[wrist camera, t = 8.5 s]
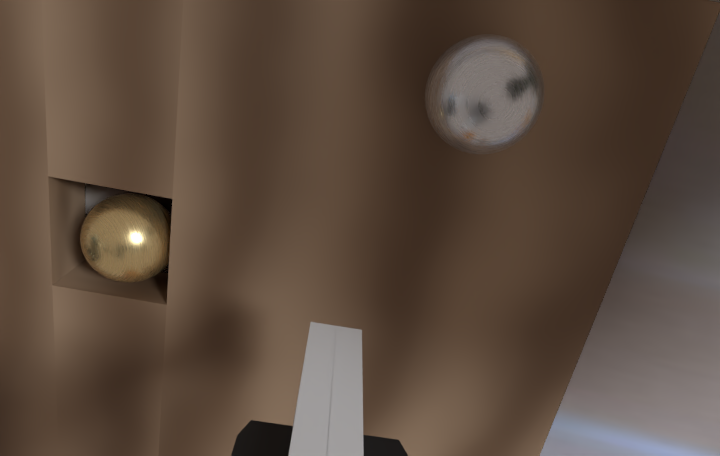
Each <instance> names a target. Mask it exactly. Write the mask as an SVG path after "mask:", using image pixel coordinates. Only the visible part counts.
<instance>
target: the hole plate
mask: <svg viewBox="0 0 720 456" xmlns="http://www.w3.org/2000/svg"><path fill="white" fill-rule="evenodd" d="M719 12H720V3H719V2H714V1H709V0H0V456H231V454H232V451H233V447H234V444H235V441H236V437H237V435H238V434H239V433H240V432H241V430H242V429H243V428H244V427H245V426H246V425H247V424H248V423H249V422H250V421H251V420H255V421H262V422H269V423H276V424H283V425H290V426H293V422H294V416H295V410H296V404H297V398H298V392H299V386H300V380H301V375H302V369H303V363H304V357H305V351H306V346H307V340H308V334H309V328H310V323H311V322H315V323H322V324H328V325H334V326H341V327H347V328H354V329H360V330H362V376H363V435H369V436H376V437H383V438H390V439H397V440H399V441H400V442H401V444H402V446H403V448H404V449H405V451H406V453H407V455H408V456H539V455H540V453H541V450H542V448H543V445H544V443H545V440H546V438H547V436H548V433H549V431H550V428H551V426H552V423H553V421H554V418H555V416H556V413H557V411H558V408H559V406H560V404H561V401H562V399H563V396H564V394H565V391H566V389H567V386H568V384H569V381H570V379H571V376H572V374H573V371H574V369H575V367H576V364H577V362H578V359H579V357H580V354H581V352H582V349H583V347H584V344H585V342H586V339H587V337H588V335H589V332H590V330H591V327H592V325H593V322H594V320H595V317H596V315H597V312H598V310H599V307H600V305H601V302H602V300H603V298H604V295H605V293H606V290H607V288H608V285H609V283H610V280H611V278H612V275H613V273H614V270H615V268H616V266H617V263H618V261H619V258H620V256H621V253H622V251H623V248H624V246H625V243H626V241H627V238H628V236H629V233H630V231H631V229H632V226H633V224H634V221H635V219H636V216H637V214H638V211H639V209H640V206H641V204H642V201H643V199H644V197H645V194H646V192H647V189H648V187H649V184H650V182H651V179H652V177H653V174H654V172H655V169H656V167H657V164H658V162H659V160H660V157H661V155H662V152H663V150H664V147H665V145H666V142H667V140H668V137H669V135H670V132H671V130H672V128H673V125H674V123H675V120H676V118H677V115H678V113H679V110H680V108H681V105H682V103H683V100H684V98H685V95H686V93H687V91H688V88H689V86H690V83H691V81H692V78H693V76H694V73H695V71H696V68H697V66H698V63H699V61H700V59H701V56H702V54H703V51H704V49H705V46H706V44H707V41H708V39H709V36H710V34H711V31H712V29H713V26H714V24H715V22H716V19H717V17H718V14H719ZM482 34H494V35H500V36H504V37H507V38H510V39H512V40H515V41H516V42H518V43H520V44H521V45H523V46H524V47H525V48H526V49H527V50H528V51H529V52H530V53H531V54H532V55H533V57H534V58H535V60H536V61H537V63H538V65H539V67H540V69H541V72H542V75H543V80H544V92H545V93H544V102H543V106H542V110H541V112H540V115H539V117H538V119H537V121H536V123H535V124H534V126H533V127H532V129H531V130H530V131H529V132H528V134H527V135H526V136H525V137H523V138H522V139H521V140H520V141H519V142H517V143H516V144H515V145H513V146H511V147H509V148H507V149H505V150H503V151H500V152H496V153H492V154H471V153H466V152H463V151H460V150H458V149H455V148H454V147H452V146H450V145H449V144H448V143H446V142H445V141H444V140H443V139H442V138H441V137H440V136H439V135H438V134H437V133H436V131H435V130H434V129H433V127H432V125H431V123H430V121H429V118H428V115H427V111H426V107H425V89H426V84H427V80H428V77H429V75H430V72H431V70H432V68H433V66H434V65H435V63H436V62H437V60H438V59H439V58H440V56H441V55H442V54H443V53H444V52H445V51H446V50H448V49H449V48H450V47H451V46H453V45H454V44H456V43H458V42H459V41H462V40H464V39H466V38H469V37H472V36H476V35H482ZM85 183H87V184H93V185H99V186H104V187H110V188H115V189H121V190H126V191H132V192H137V193H143V194H148V195H154V196H160V197H165V198H171V199H172V216H171V234H170V253H169V271H168V273H163V272H160V273H158V274H156V275H155V276H153V277H151V278H149V279H146V280H143V281H139V282H119V281H114V280H111V279H108V278H106V277H104V276H102V275H101V274H99V273H98V272H97V271H95V270H94V269H93V268H92V267H91V266H90V264H89V263H88V262H87V260H86V259H85V257H84V254H83V252H82V249H81V244H80V233H81V228H82V225H83V222H84V220H85Z"/></svg>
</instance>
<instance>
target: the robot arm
mask: <svg viewBox="0 0 720 456" xmlns="http://www.w3.org/2000/svg"><path fill="white" fill-rule="evenodd" d="M231 456H408V455H407V453H406V451H405V449H404V448H403V446H402V444H401V442H400V441H399V440H397V439H390V438H383V437H376V436H369V435H363V376H362V330H360V329H354V328H347V327H341V326H334V325H328V324H322V323H315V322H311V323H310V328H309V334H308V340H307V346H306V351H305V357H304V363H303V369H302V375H301V380H300V386H299V392H298V398H297V404H296V410H295V416H294V422H293V426H290V425H283V424H276V423H269V422H262V421H255V420H251V421H250V422H249V423H248V424H247V425H246V426H245V427H244V428H243V429H242V430H241V432H240V433H239V434H238V435H237V437H236V441H235V444H234V447H233V451H232V454H231Z"/></svg>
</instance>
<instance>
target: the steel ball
mask: <svg viewBox="0 0 720 456" xmlns="http://www.w3.org/2000/svg"><path fill="white" fill-rule="evenodd" d="M544 93H545V92H544V80H543V75H542V72H541V69H540V67H539V65H538V63H537V61H536V60H535V58H534V57H533V55H532V54H531V53H530V52H529V51H528V50H527V49H526V48H525V47H524V46H523V45H521V44H520V43H518V42H516V41H515V40H512V39H510V38H507V37H504V36H500V35H494V34H482V35H476V36H472V37H469V38H466V39H464V40H462V41H459V42H458V43H456V44H454V45H453V46H451V47H450V48H449V49H448V50H446V51H445V52H444V53H443V54H442V55H441V56H440V58H439V59H438V60H437V62H436V63H435V65H434V66H433V68H432V70H431V72H430V75H429V77H428V80H427V84H426V89H425V107H426V111H427V115H428V118H429V121H430V123H431V125H432V127H433V129H434V130H435V131H436V133H437V134H438V135H439V136H440V137H441V138H442V139H443V140H444V141H445V142H446V143H448V144H449V145H450V146H452V147H454V148H455V149H458V150H460V151H463V152H466V153H471V154H492V153H496V152H500V151H503V150H505V149H507V148H509V147H511V146H513V145H515V144H516V143H517V142H519V141H520V140H521V139H522V138H523V137H525V136H526V135H527V134H528V132H529V131H530V130H531V129H532V127H533V126H534V124H535V123H536V121H537V119H538V117H539V115H540V112H541V110H542V106H543V102H544Z"/></svg>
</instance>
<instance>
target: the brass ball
mask: <svg viewBox="0 0 720 456" xmlns="http://www.w3.org/2000/svg"><path fill="white" fill-rule="evenodd" d="M170 234H171V214H170V213H169V212H168V210H167V209H166V208H165V207H164V206H163V205H161V204H160V203H159V202H157V201H156V200H154V199H152V198H150V197H147V196H144V195H139V194H119V195H115V196H112V197H109V198H107V199H105V200H103V201H101V202H100V203H99V204H97V205H96V206H95V207H94V208H93V209H92V210H91V211H90V212H89V213H88V215H87V216H86V218H85V220H84V222H83V225H82V228H81V233H80V244H81V249H82V252H83V254H84V257H85V259H86V260H87V262H88V263H89V264H90V266H91V267H92V268H93V269H94V270H95V271H97V272H98V273H99V274H101V275H102V276H104V277H106V278H108V279H111V280H114V281H119V282H139V281H143V280H146V279H149V278H151V277H153V276H155V275H156V274H158V273H160V272H161V271H162V270H163V269H164V268H165V267H166V266H167V265H168V264H169V253H170Z"/></svg>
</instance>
